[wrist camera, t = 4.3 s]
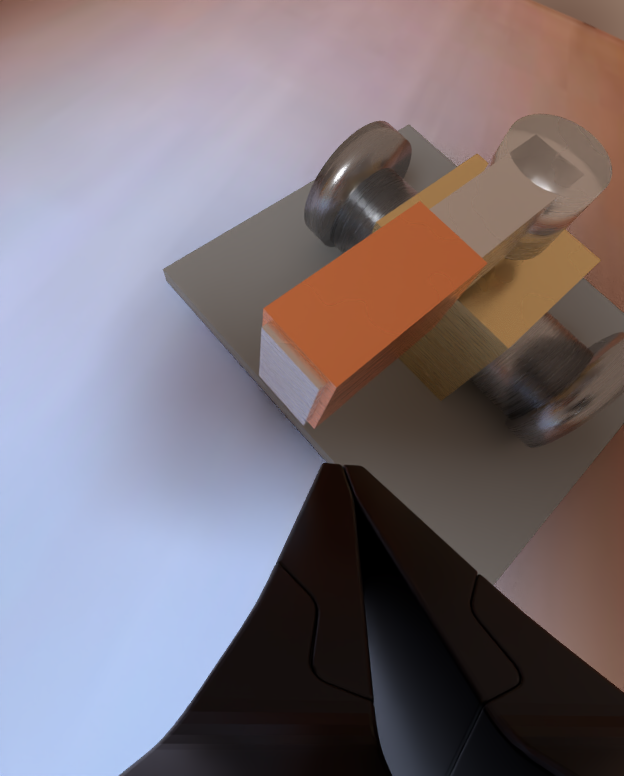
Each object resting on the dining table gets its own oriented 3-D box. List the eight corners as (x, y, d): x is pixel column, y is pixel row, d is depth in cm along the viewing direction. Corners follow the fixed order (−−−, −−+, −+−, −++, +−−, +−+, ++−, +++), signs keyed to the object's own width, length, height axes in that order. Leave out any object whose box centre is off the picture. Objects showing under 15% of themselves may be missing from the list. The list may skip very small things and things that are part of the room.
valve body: (573, 382, 18) (707, 313, 13) (500, 462, 16) (620, 421, 11) (377, 197, 20) (422, 73, 15) (294, 251, 19) (312, 132, 13)
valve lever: (496, 177, 14) (553, 92, 11) (562, 235, 13) (638, 159, 11) (242, 360, 10) (241, 298, 8) (319, 446, 10) (343, 411, 7)
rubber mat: (659, 366, 20) (675, 358, 19) (458, 611, 15) (469, 614, 14) (403, 138, 23) (409, 124, 22) (166, 280, 18) (162, 269, 17)
